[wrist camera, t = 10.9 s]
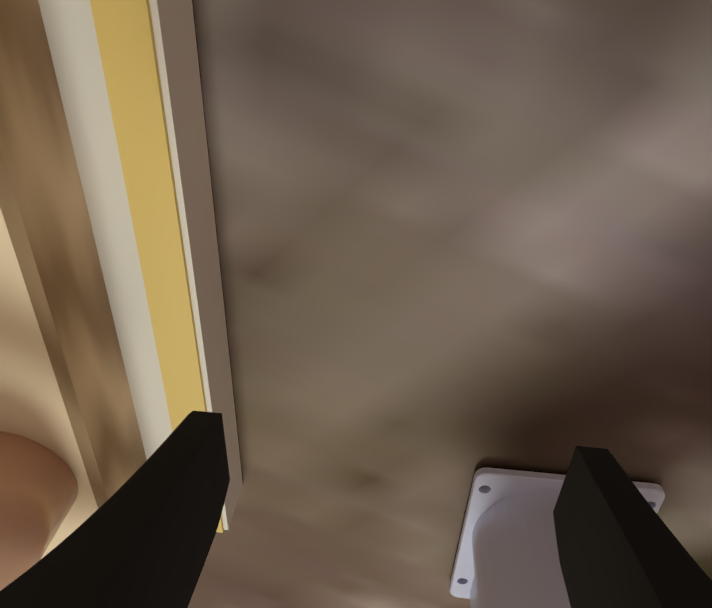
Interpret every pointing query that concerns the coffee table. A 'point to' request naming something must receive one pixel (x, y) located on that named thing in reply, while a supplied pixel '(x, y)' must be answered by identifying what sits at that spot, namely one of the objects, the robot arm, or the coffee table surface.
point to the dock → (150, 204)
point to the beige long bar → (55, 285)
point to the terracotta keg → (30, 502)
